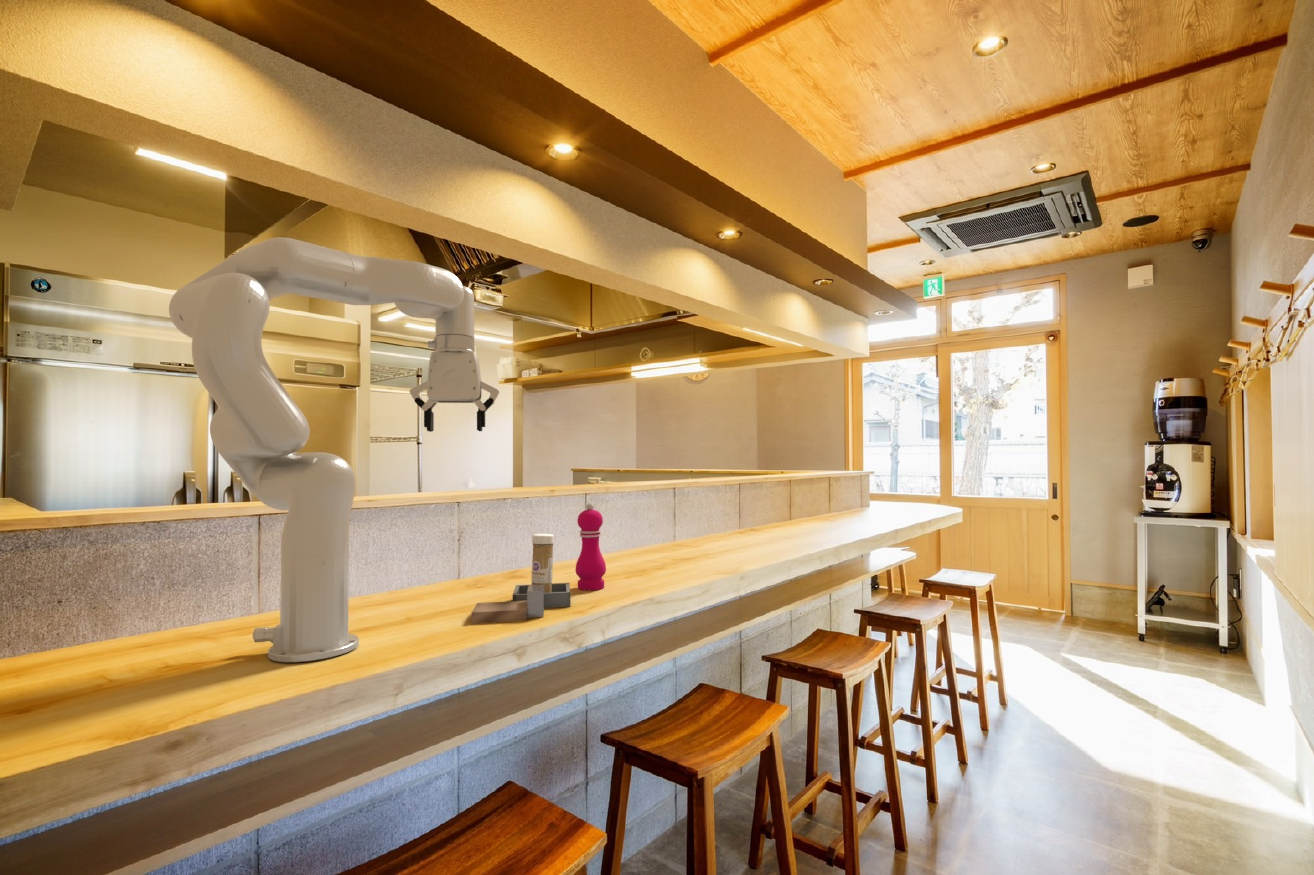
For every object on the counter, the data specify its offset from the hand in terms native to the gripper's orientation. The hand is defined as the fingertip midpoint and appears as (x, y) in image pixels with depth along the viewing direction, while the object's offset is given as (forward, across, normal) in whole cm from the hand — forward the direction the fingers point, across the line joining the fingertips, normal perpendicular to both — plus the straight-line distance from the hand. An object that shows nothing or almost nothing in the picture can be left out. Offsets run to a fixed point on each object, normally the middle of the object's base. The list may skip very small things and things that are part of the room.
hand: (455, 431), depth 123 cm
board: (+37, +10, -6) cm, 38 cm away
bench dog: (+36, +16, -5) cm, 40 cm away
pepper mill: (+36, +28, +18) cm, 49 cm away
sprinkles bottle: (+36, +17, +5) cm, 40 cm away
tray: (+36, +17, +5) cm, 40 cm away
